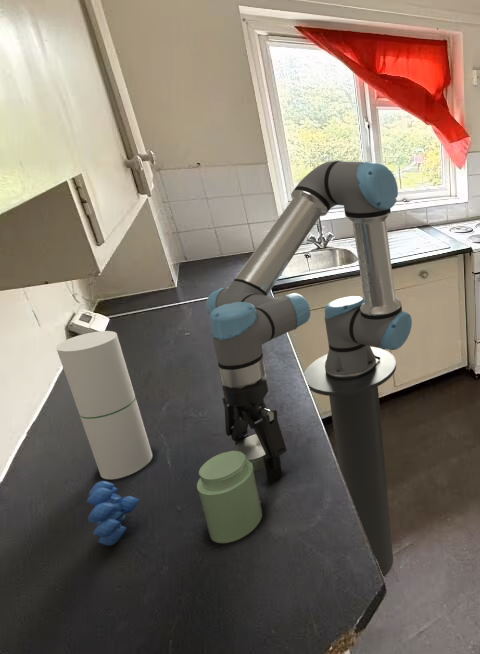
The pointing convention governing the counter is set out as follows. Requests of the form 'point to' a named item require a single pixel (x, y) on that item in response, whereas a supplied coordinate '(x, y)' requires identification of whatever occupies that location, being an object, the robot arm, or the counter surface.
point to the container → (106, 402)
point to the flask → (229, 496)
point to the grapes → (109, 511)
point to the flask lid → (252, 451)
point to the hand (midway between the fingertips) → (260, 471)
